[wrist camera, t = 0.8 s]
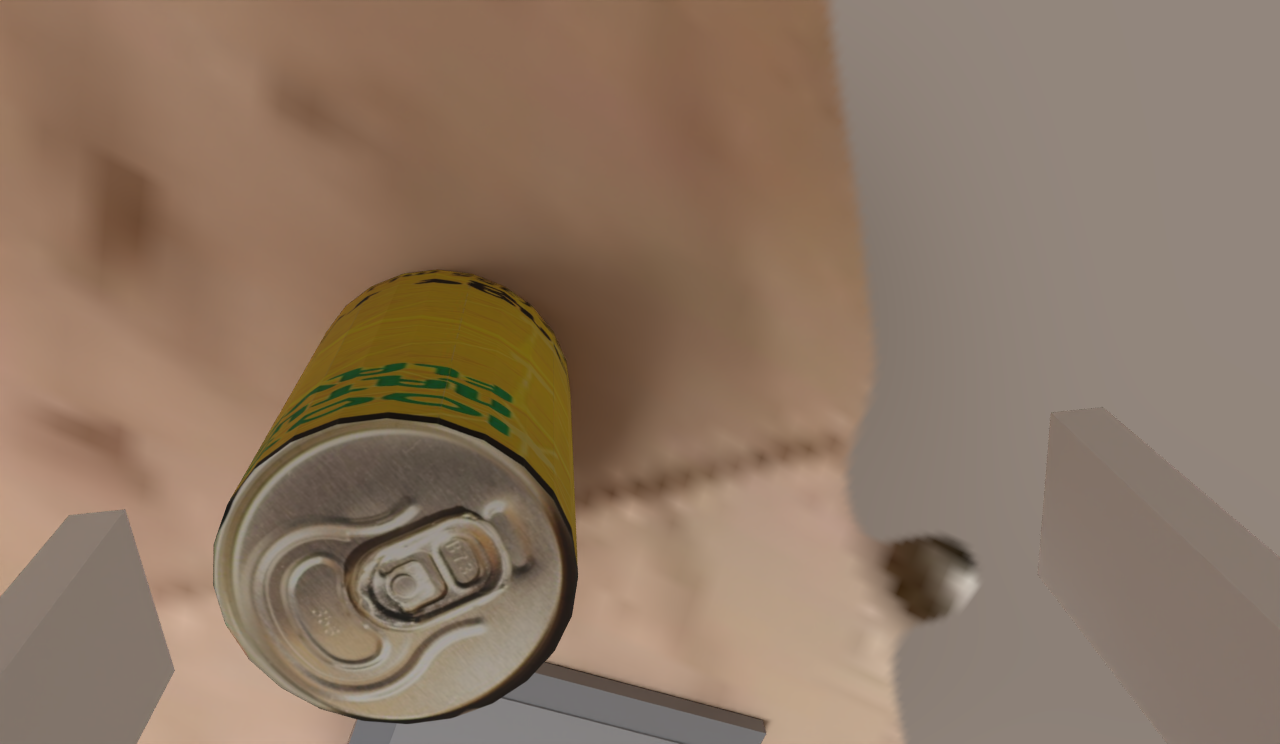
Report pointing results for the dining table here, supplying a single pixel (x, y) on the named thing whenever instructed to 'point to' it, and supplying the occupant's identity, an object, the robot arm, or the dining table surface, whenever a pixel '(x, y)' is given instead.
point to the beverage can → (410, 508)
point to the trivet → (574, 717)
